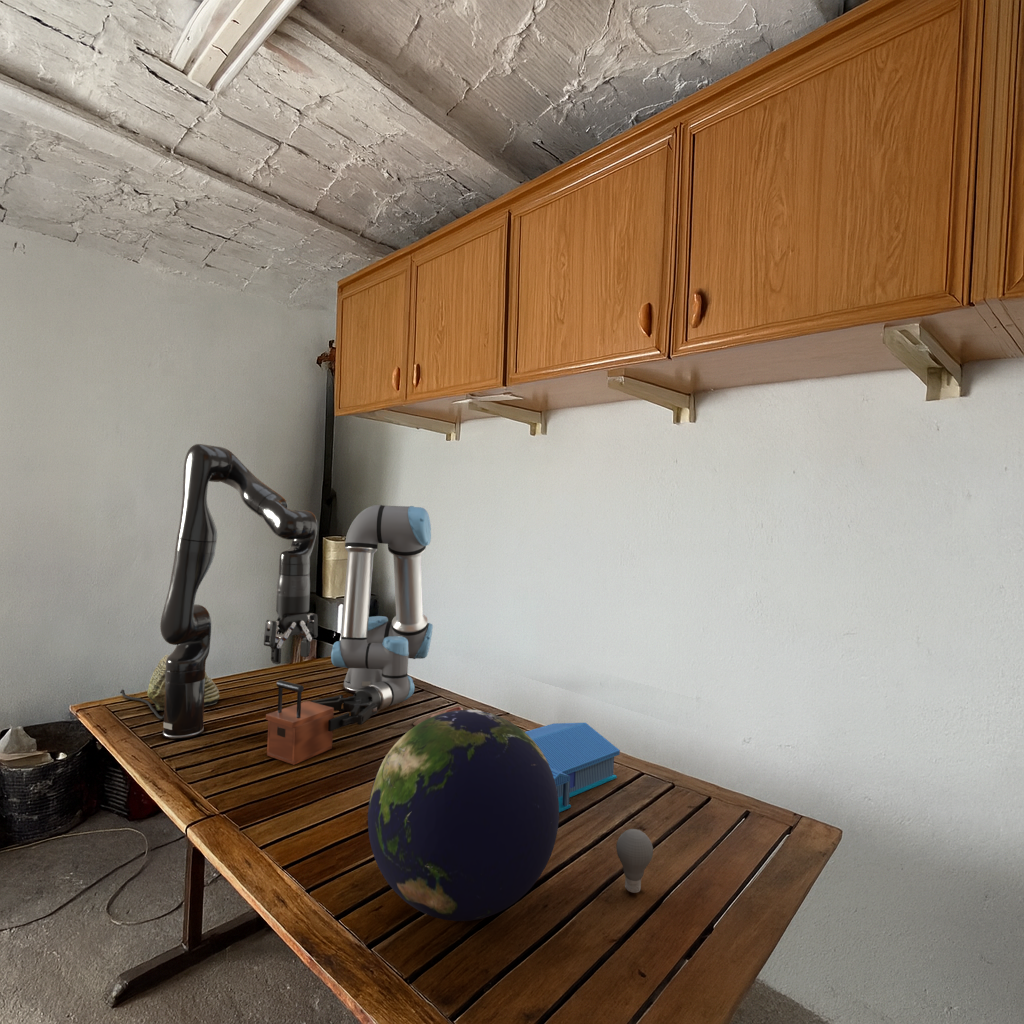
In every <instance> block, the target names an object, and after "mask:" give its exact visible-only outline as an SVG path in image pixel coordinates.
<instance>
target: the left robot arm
mask: <svg viewBox="0 0 1024 1024" xmlns="http://www.w3.org/2000/svg"><path fill="white" fill-rule="evenodd" d="M182 475H183V476H182V478H183V479H182V481H183V482H182V496H181V497H182V500H181V508H180V516H179V524H178V529H177V530H178V531H177V534H176V541H175V547H174V557H173V563H172V568H171V575H170V580H169V587H168V591H167V595H166V598H165V604H164V606H163V610H162V613H161V618H160V623H159V625H160V626H159V628H160V634H161V636H162V638H163V640H164V641H165V642H166V643H167V644H169V645H172V646H175V648H174V649H173V651H172V652H171V653H170V654H168V655H169V656H168V658H167V659H166V674H165V705H164V710H163V715H160V714H159V711H158V710H156V708H155V707H154V706H153V705H152V703H151V702H150V701H149V700H147V699H144V698H140V697H134V696H129V695H127V694H126V692H125V690H124V689H121V690H120V691H119V692H120V694H121V695H122V697H123V698H125V699H128V700H130V701H137V702H142V703H145V704H146V705H147V706H148V707H149V709H150V710H151V712H153V714H154V715H155V716H156V718H158V719H159V720H163V723H162V724H163V728H162V729H163V731H162V737H164V738H166V739H169V740H185V739H190V738H191V739H192V738H194V737H197V736H199V735H202V734H203V732H204V730H205V729H204V722H205V721H204V718H205V706H204V693H205V672H206V664H207V663H206V662H207V658H208V656H209V653H210V649H211V648H210V647H211V639H212V637H211V636H212V617H211V614H210V613H209V610H208V609H207V608H206V607H205V606H203V605H201V604H196V597H197V593H198V590H199V588H200V586H201V584H202V582H203V580H204V578H205V577H206V575H207V573H208V572H209V570H210V568H211V566H212V564H213V561H214V558H215V555H216V548H217V541H218V529H217V526H216V523H215V521H214V518H213V516H212V514H211V511H210V508H209V504H208V487H209V483H210V482H212V483H223V484H225V485H227V486H229V487H231V488H233V489H235V490H236V491H237V493H239V497H240V499H241V501H242V502H243V504H244V505H245V506H246V507H247V509H249V510H250V511H251V512H253V513H254V514H256V515H257V516H259V517H260V518H261V519H263V521H264V522H265V524H266V525H267V526H268V528H269V529H270V531H271V532H272V533H273V534H274V535H275V536H277V537H278V538H280V539H283V540H289V541H291V543H290V546H289V547H288V548H286V549H283V550H282V551H280V554H279V557H278V577H277V581H276V582H277V583H276V603H275V611H276V614H277V618H276V619H275V620H271V619H266V620H265V623H264V624H265V625H264V636H263V645H264V646H265V647H270V661H271V662H272V664H274V665H280V664H282V646H283V645H284V642H285V641H287V640H288V638H289V637H293V636H295V635H296V636H299V638H300V639H301V641H300V652H299V653H300V655H299V656H300V657H301V658H308V657H309V656H310V653H311V642H312V640H313V639H314V638H315V639H317V637H318V636H319V633H318V632H319V630H318V629H319V628H318V627H319V625H318V622H319V621H318V617H319V616H318V614H317V613H313V612H309V611H310V600H311V599H310V598H311V597H310V596H311V578H310V571H311V569H310V567H311V555H312V552H313V549H314V547H315V542H316V538H317V535H318V531H319V530H318V529H319V523H318V520H317V517H316V515H315V514H314V513H313V512H312V511H310V510H306V509H289V504H288V502H287V500H286V498H284V497H283V496H282V495H281V494H279V493H278V492H276V491H275V490H274V489H273V488H271V487H270V486H269V485H267V484H265V483H264V481H263V482H262V481H261V480H260V479H259V478H258V477H257V476H256V475H254V473H252V472H251V471H250V469H248V468H247V466H245V465H244V464H243V462H242V461H241V460H240V458H238V457H237V456H236V455H235V454H234V453H233V452H232V451H231V450H229V449H227V448H226V447H222V446H217V445H211V444H204V443H195V444H193V445H192V446H190V447H189V449H188V450H187V452H186V454H185V457H184V462H183V474H182Z"/></svg>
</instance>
